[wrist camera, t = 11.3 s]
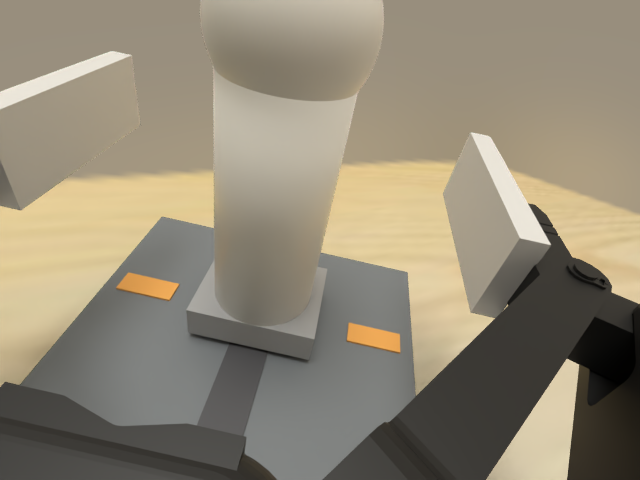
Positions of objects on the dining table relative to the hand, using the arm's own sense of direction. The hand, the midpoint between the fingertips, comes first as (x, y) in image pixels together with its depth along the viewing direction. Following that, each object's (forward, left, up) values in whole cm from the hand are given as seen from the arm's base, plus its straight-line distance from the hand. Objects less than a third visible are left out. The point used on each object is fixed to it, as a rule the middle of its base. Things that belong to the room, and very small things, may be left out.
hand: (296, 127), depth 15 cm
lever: (0, -3, -7) cm, 8 cm away
